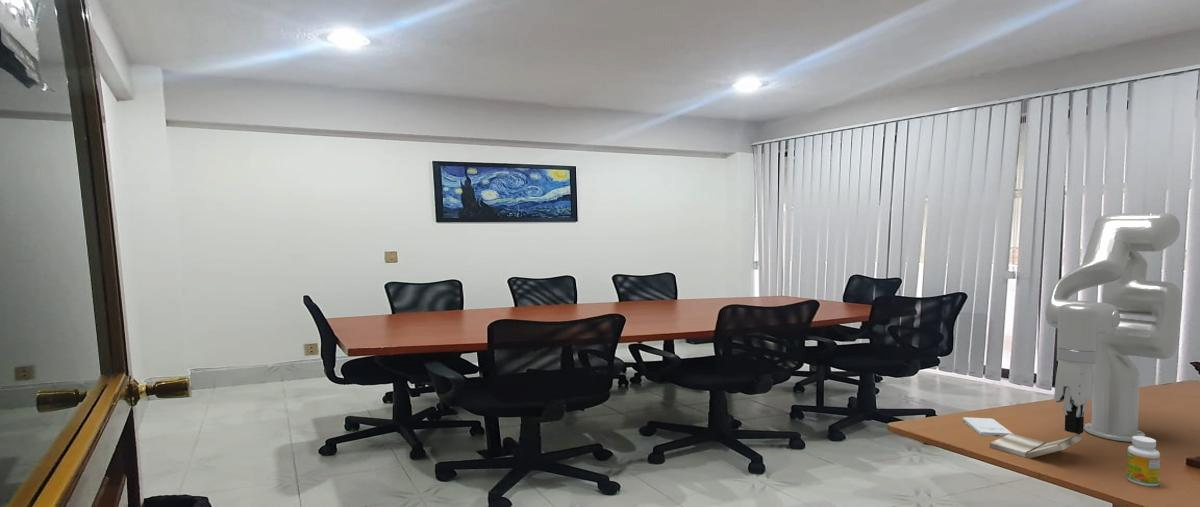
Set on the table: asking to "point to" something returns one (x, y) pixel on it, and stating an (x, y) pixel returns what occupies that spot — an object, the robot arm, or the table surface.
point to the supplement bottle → (1143, 461)
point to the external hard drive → (986, 426)
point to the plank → (1054, 446)
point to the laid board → (1016, 444)
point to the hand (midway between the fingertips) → (1073, 431)
